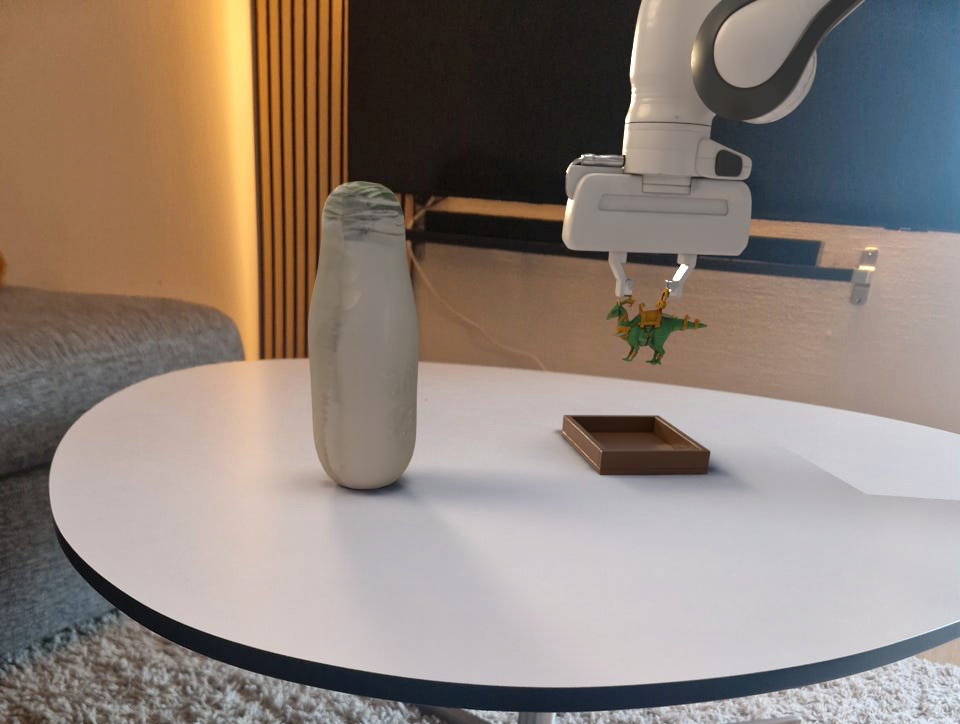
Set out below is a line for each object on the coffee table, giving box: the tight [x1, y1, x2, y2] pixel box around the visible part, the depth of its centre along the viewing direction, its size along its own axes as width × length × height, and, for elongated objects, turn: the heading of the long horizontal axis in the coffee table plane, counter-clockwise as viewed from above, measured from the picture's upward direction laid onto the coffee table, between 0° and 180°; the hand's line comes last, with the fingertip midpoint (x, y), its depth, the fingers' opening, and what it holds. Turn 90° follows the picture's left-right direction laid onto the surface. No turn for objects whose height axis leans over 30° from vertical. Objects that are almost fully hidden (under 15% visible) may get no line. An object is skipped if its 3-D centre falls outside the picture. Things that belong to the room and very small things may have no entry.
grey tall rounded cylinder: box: [307, 180, 420, 490], centre depth 89 cm, size 10×10×28 cm
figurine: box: [605, 288, 708, 366], centre depth 105 cm, size 3×12×8 cm, turn 98°
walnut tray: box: [561, 414, 711, 475], centre depth 110 cm, size 18×13×3 cm
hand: (648, 297), depth 103 cm, fingers closed on figurine, 4 cm apart
